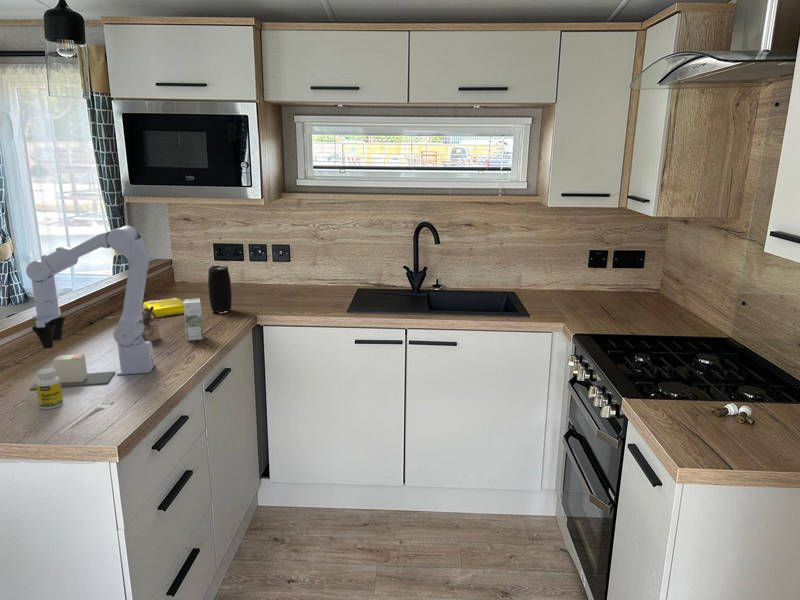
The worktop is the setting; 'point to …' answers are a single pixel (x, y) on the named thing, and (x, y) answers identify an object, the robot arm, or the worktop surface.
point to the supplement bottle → (49, 389)
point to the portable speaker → (219, 288)
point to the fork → (93, 410)
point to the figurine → (149, 325)
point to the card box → (70, 368)
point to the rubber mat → (88, 380)
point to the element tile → (165, 306)
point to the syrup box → (193, 319)
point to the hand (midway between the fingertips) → (52, 344)
